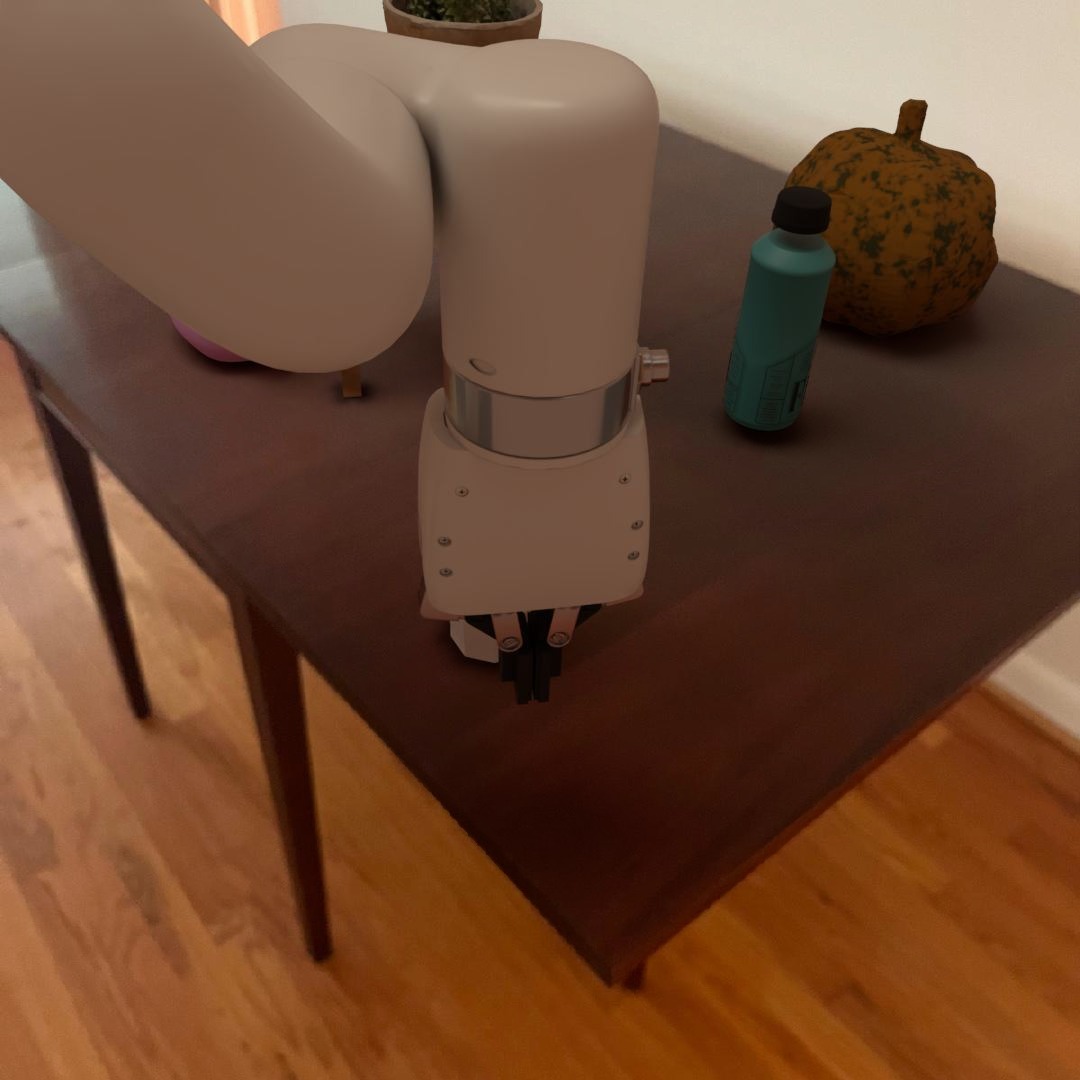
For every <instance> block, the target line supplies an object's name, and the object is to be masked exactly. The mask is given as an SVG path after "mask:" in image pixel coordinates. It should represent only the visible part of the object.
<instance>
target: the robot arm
mask: <svg viewBox="0 0 1080 1080" xmlns="http://www.w3.org/2000/svg"><path fill="white" fill-rule="evenodd" d="M655 89H656V88H654V84H653V83H652V81H651V79H650V78H649V76H648V74H647V73H646V72H645V71H644V70H643V69H642V68H641V67H640V66H639V65H638V64H637V63H635V62H634V61H633V60H631V59H630V58H628V57H627V56H625V55H623V54H621V53H618V52H616V51H614V50H611V49H608V48H604V47H601V46H598V45H595V44H590V43H586V42H581V41H574V40H568V39H559V38H557V39H556V38H538V39H524V40H514V41H507V42H501V43H496V44H491V45H488V46H485V47H474V46H465V45H457V44H450V43H444V42H438V41H431V40H425V39H419V38H413V37H407V36H402V35H397V34H392V33H387V31H381V30H376V29H370V28H364V27H358V26H352V25H351V26H350V25H345V24H344V25H343V24H337V23H320V22H319V23H318V22H317V23H314V22H313V23H300V24H294V25H293V24H292V25H289V26H286V27H282V28H278V29H277V30H273V31H270V32H269V33H266V34H265V35H262V36H261V37H259V38H258V39H256V40H255V41H254V42H253V43H251V44H250V45H248V44H247V42H245V41H244V40H243V39H242V37H240V36H239V35H238V34H237V33H236V32H235V31H234V30H233V29H232V27H230V25H229V24H228V23H226V22H225V20H224V19H223V18H222V17H221V16H220V15H219V14H218V13H217V12H216V10H214V9H213V8H212V7H211V6H210V4H208V2H207V1H206V0H0V180H1V181H2V182H4V183H5V185H7V187H9V189H11V190H12V191H13V192H14V193H15V194H16V195H17V196H18V197H19V198H20V199H21V200H22V201H23V202H24V203H25V204H26V205H27V206H28V207H29V208H31V209H32V210H33V211H34V212H36V213H37V215H39V216H40V217H41V218H42V219H44V220H45V221H46V222H47V223H49V224H50V226H51V227H53V228H54V229H56V231H58V232H59V233H60V234H62V235H63V236H64V237H66V238H67V239H68V240H69V241H71V242H72V243H73V244H75V245H76V246H77V247H78V248H80V249H81V250H82V251H84V253H86V254H88V255H89V256H90V257H91V258H92V259H94V260H95V261H97V262H98V263H99V264H101V265H102V266H104V267H105V268H106V269H107V270H109V271H110V272H111V273H113V274H114V275H115V276H117V277H118V278H119V279H121V280H122V281H123V282H125V283H126V284H127V285H129V286H130V287H132V288H133V289H134V290H135V291H137V292H138V293H139V294H140V295H142V296H143V297H144V298H146V299H147V300H148V301H150V302H151V303H153V304H154V305H155V306H157V307H158V308H159V309H161V310H162V311H164V312H165V313H166V314H167V315H169V316H170V315H171V316H172V317H174V318H175V319H177V320H179V321H180V322H182V323H183V324H185V325H186V326H188V327H189V328H190V329H192V330H193V331H195V332H196V333H198V334H199V335H201V336H203V337H204V338H206V339H208V340H210V341H211V342H213V343H215V344H217V345H219V346H221V347H223V348H225V349H227V350H229V351H231V352H233V353H235V354H237V355H239V356H241V357H243V358H245V359H248V361H251V362H254V363H256V364H260V365H263V366H265V367H269V368H272V369H275V370H281V371H286V372H293V373H297V374H298V373H299V374H300V373H301V374H327V373H334V372H339V371H341V370H345V369H349V368H351V367H354V366H356V365H359V366H360V365H361V364H364V363H366V362H369V361H371V360H373V359H374V358H376V357H377V356H379V355H381V354H382V353H383V352H385V351H387V350H388V349H389V348H390V347H392V346H394V344H395V343H396V342H397V340H398V339H400V337H401V336H402V335H403V334H405V332H406V331H407V330H408V328H409V327H410V325H411V324H412V322H413V321H414V319H415V317H416V316H417V314H418V312H419V310H420V309H421V308H422V305H423V303H424V300H425V297H426V294H427V291H428V287H429V284H430V280H431V276H432V270H433V256H434V253H435V254H436V257H437V260H438V274H439V276H438V277H439V298H440V299H439V303H440V319H441V320H440V324H441V325H440V327H441V351H442V369H443V370H442V373H443V374H442V375H443V387H440V388H438V389H437V390H435V391H434V392H433V393H432V394H431V395H430V396H429V398H428V400H427V402H426V406H425V410H424V416H423V420H422V426H421V433H420V441H419V449H418V466H417V467H418V468H417V526H418V528H417V529H418V531H417V532H418V545H419V551H420V555H421V561H422V562H421V563H422V578H421V581H420V584H419V588H418V590H417V591H418V592H417V601H418V610H419V615H420V616H421V618H423V619H427V620H433V621H434V620H435V621H436V620H437V621H448V622H450V621H459V619H462V620H465V621H466V622H467V623H468V624H469V625H471V626H473V627H475V628H476V629H478V630H480V631H481V632H483V633H485V634H487V635H488V636H490V637H492V638H493V639H495V640H497V644H498V659H499V662H498V669H499V675H500V681H501V683H509V682H513V687H514V694H515V699H516V703H517V706H521V705H528V704H529V702H532V700H534V701H537V702H538V704H540V703H549V702H550V691H551V690H550V687H551V678H555V677H561V675H562V659H563V647H565V646H567V645H568V644H570V643H571V641H572V640H573V639H572V638H573V635H574V631H575V629H577V628H578V627H579V626H581V625H582V624H583V623H585V622H586V621H587V620H589V619H590V618H591V617H593V616H594V615H595V614H596V613H598V612H599V611H600V610H601V609H602V607H604V606H605V607H606V608H609V607H612V606H616V605H620V604H623V603H627V602H632V601H635V600H638V599H640V598H641V597H642V596H643V595H644V593H645V587H644V584H643V583H644V579H645V576H646V572H647V568H648V561H649V551H650V535H651V534H650V530H651V484H650V483H651V482H650V481H651V480H650V479H651V478H650V477H651V476H650V471H651V470H650V454H649V443H648V436H647V435H648V434H647V426H646V419H645V414H644V409H643V405H642V399H641V396H640V393H641V390H642V388H644V387H645V388H646V387H650V386H651V385H652V384H655V383H657V384H658V383H667V382H668V381H669V378H670V371H671V370H670V368H671V367H670V365H671V364H670V357H669V353H668V351H667V349H666V348H657V349H656V348H655V349H649V347H648V346H641V345H640V344H639V341H638V339H639V330H640V320H641V308H642V297H643V287H644V279H645V278H644V277H645V268H646V261H647V260H646V257H647V250H648V249H647V248H648V241H649V240H648V239H649V231H650V230H649V229H650V220H651V212H652V202H653V192H654V185H655V184H654V183H655V175H656V167H657V165H656V164H657V156H658V155H657V154H658V145H659V136H660V135H659V133H660V117H661V116H660V106H659V99H658V95H657V93H656V90H655ZM523 611H531V612H528V614H527V620H526V615H525V612H524V613H523ZM532 698H533V699H532Z"/></svg>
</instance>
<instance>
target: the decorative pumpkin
mask: <svg viewBox="0 0 1080 1080" xmlns="http://www.w3.org/2000/svg"><path fill="white" fill-rule="evenodd" d="M928 108H929V104H928V103H927V100H926V99H913V98H909V99H907V100H905V101H904V102H903V103H902V104H901V105H900V107H899V113H898V119H897V123H896V127H895V128H896V129H895V131H894V133H891V132H888V131H884V130H881V129H878V128H876V127H863V126H862V127H860V126H859V127H856V126H855V127H852V128H851V127H850V128H848V129H843V130H842V129H841V130H837V131H835V132H832V133H830V134H828V135H826V136H825V137H823V138H822V139H821V140H819V141H818V142H817V144H815V145H814V146H813V147H812V149H811V150H810V151H809V152H808V153H807V154H806V155H805V156H804V157H803V158H802V160H800V161H799V162H798V163H797V164H796V165H795V166H794V167H793V168H792V169H791V171H790V173H789V175H788V177H787V180H786V181H785V183H784V185H783V187H782V189H784V188H787V187H792V186H806V187H811V188H815V189H818V190H821V191H823V192H825V193H826V194H828V195H829V196H830V197H831V199H832V206H831V213H830V222H829V226H828V229H827V230H826V231H824V232H822V233H819V234H818V235H820V236H821V237H822V238H823V239H824V240H825V241H826V242H827V243H828V245H829V246H830V247H831V249H832V250H833V252H834V254H835V257H836V262H835V266H834V268H833V270H832V275H831V279H830V283H829V287H828V292H827V296H826V300H825V304H824V309H823V315H822V316H824V317H822V319H823V320H825V321H827V322H829V323H832V324H841V325H847V326H851V327H853V328H856V329H858V330H860V331H862V332H864V333H866V334H868V335H870V336H872V337H874V338H882V339H884V338H888V337H892V336H894V335H898V334H900V333H905V332H907V331H911V330H914V329H916V328H919V327H922V326H923V327H924V326H933V325H939V324H942V323H945V322H948V321H952V320H954V319H956V318H958V317H959V316H960V315H962V314H964V313H965V312H967V311H968V310H969V308H970V307H972V306H973V305H974V303H975V302H976V301H977V300H978V299H979V297H980V296H981V295H982V293H983V291H984V289H985V287H986V286H987V283H988V282H989V280H990V278H991V276H992V274H993V272H994V270H995V268H996V267H997V266H998V263H999V254H998V249H997V244H996V239H995V237H994V224H995V223H996V215H997V193H996V191H997V190H996V184H995V182H994V179H993V177H991V175H990V174H989V173H988V172H987V171H985V170H983V169H982V168H981V167H978V165H977V163H976V161H975V160H974V159H973V158H972V157H971V156H969V155H968V154H966V153H965V152H962V151H959V150H954V149H951V148H950V149H949V148H944V147H940V146H937V145H934V144H931V143H929V142H926V141H924V140H922V139H921V138H922V132H923V129H924V124H925V121H926V117H927V112H928ZM775 229H778V227H777V226H775V225H774V224H773V225H772V229H771V231H772V230H775Z"/></svg>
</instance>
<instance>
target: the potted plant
mask: <svg viewBox="0 0 1080 1080" xmlns="http://www.w3.org/2000/svg"><path fill="white" fill-rule="evenodd" d="M381 4H382V9H383V15H384V22H385V26H386V33H392V34H397V35H402V36H407V37H413V38H419V39H425V40H431V41H438V42H444V43H450V44H457V45H465V46H474V47H485V46H488V45H491V44H496V43H501V42H507V41H514V40H524V39H540V38H539V37H540V32H541V28H542V21H543V20H542V19H543V11H544V10H543V9H544V3H543V2H542V1H541V0H382V1H381Z"/></svg>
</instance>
